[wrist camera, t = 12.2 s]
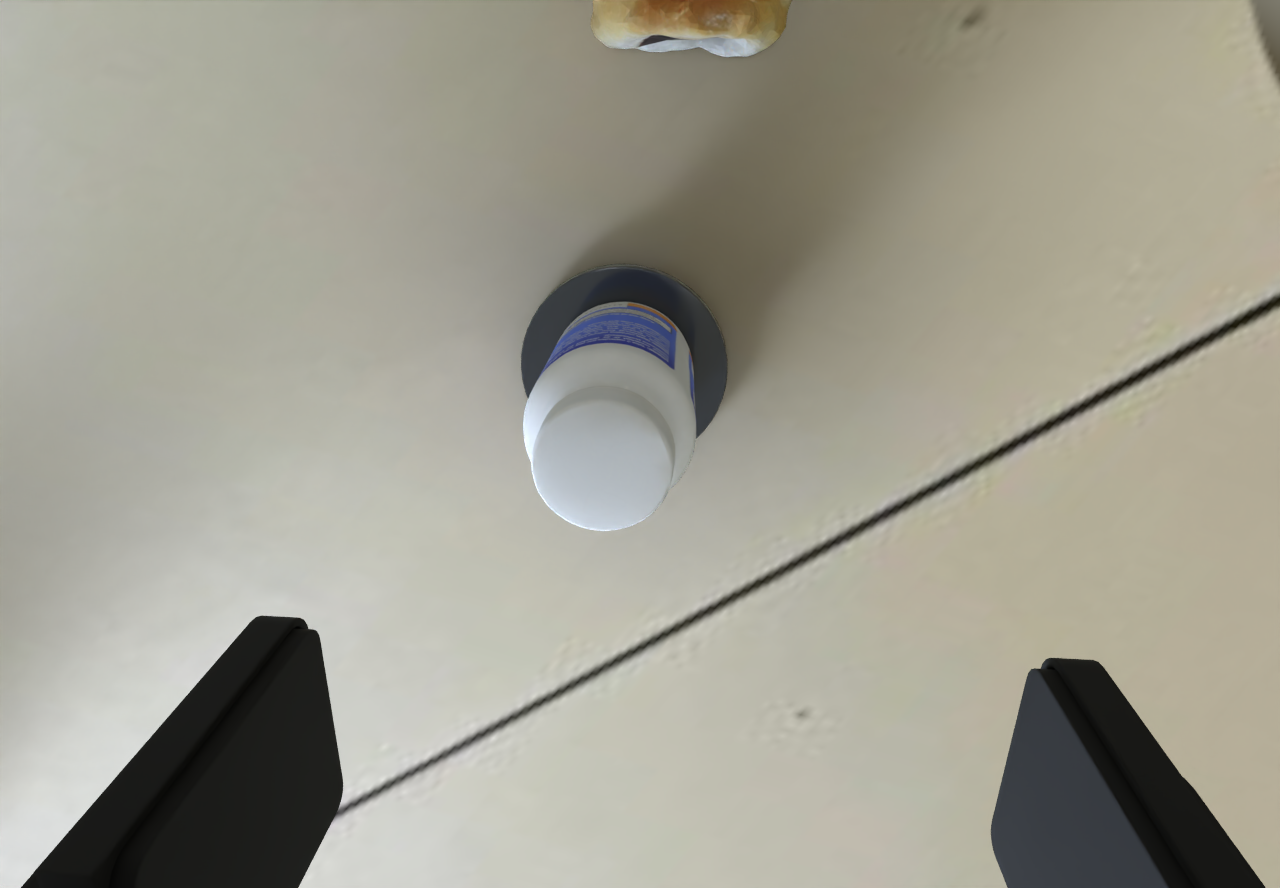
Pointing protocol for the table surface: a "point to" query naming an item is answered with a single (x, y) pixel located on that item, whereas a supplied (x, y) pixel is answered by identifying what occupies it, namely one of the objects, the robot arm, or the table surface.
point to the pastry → (690, 24)
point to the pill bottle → (612, 417)
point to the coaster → (644, 290)
